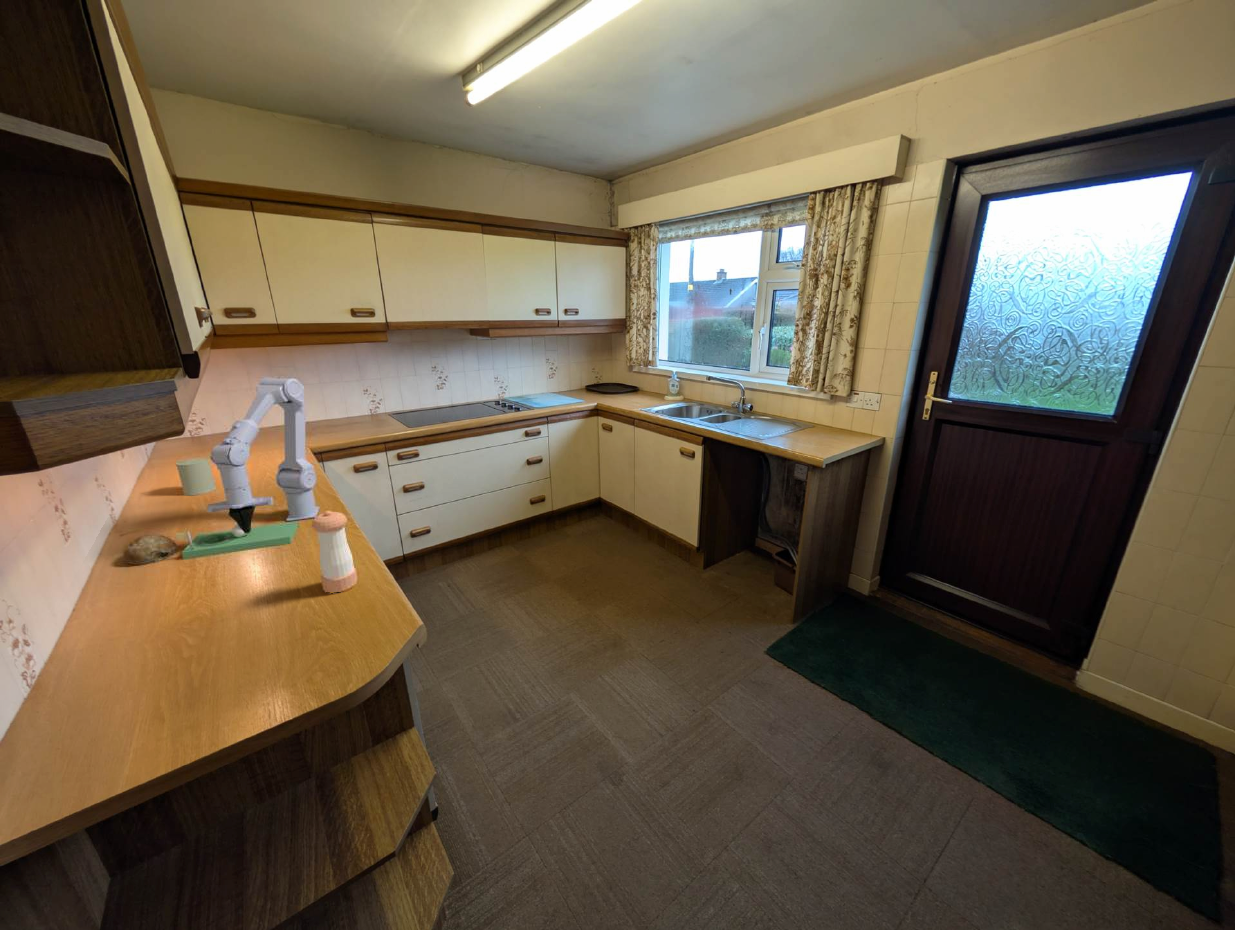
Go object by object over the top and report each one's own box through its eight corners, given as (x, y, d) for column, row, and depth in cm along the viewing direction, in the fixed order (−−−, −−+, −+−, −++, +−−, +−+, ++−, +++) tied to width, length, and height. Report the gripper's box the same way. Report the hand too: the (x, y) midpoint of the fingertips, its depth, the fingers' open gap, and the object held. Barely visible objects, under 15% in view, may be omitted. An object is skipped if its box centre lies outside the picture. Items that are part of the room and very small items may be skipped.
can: (188, 488, 177) (180, 458, 174) (219, 485, 181) (212, 455, 177) (179, 497, 169) (170, 464, 166) (212, 493, 173) (204, 461, 169)
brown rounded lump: (143, 579, 123) (146, 556, 120) (110, 560, 123) (112, 536, 120) (183, 561, 132) (187, 539, 129) (152, 544, 132) (155, 521, 130)
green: (197, 541, 136) (191, 518, 134) (298, 527, 146) (293, 505, 144) (181, 559, 126) (174, 535, 124) (290, 543, 135) (286, 520, 133)
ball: (243, 520, 136) (253, 530, 137) (231, 527, 135) (240, 537, 136) (239, 523, 133) (249, 533, 134) (226, 531, 132) (236, 541, 133)
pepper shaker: (319, 595, 110) (304, 519, 104) (328, 579, 117) (314, 507, 111) (353, 591, 112) (341, 515, 106) (361, 575, 119) (349, 504, 113)
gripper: (198, 494, 125) (210, 541, 129) (265, 487, 131) (274, 532, 134) (207, 486, 131) (218, 531, 135) (270, 480, 137) (279, 523, 141)
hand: (247, 531), depth 135 cm, fingers closed, pressing on ball
